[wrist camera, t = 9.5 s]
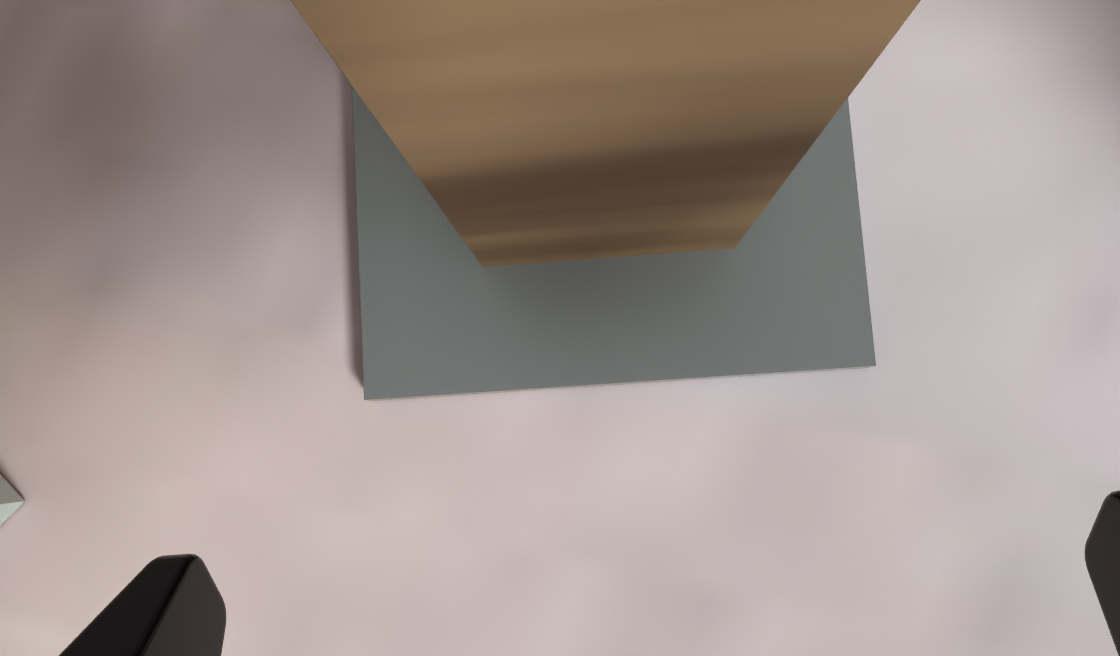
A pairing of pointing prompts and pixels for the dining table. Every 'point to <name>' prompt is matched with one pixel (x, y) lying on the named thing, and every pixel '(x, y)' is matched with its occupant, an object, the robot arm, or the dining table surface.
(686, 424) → the dining table surface
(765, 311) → the slate coaster
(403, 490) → the dining table surface
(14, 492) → the pocket board
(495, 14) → the walnut block
